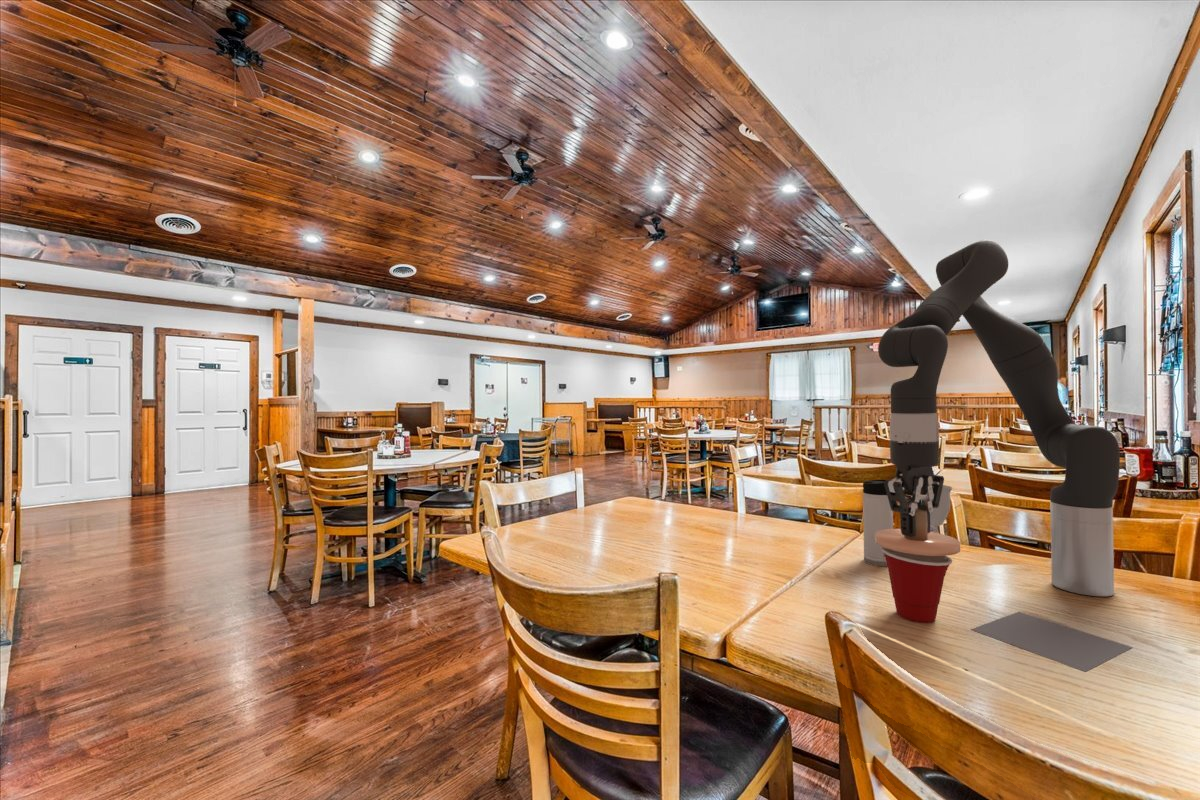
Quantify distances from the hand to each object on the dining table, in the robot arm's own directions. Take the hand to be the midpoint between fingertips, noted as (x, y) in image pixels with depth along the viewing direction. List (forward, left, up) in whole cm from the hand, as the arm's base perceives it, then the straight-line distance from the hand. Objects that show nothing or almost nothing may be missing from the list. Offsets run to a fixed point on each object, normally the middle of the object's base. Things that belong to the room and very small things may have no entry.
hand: (915, 533), depth 91 cm
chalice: (-34, -17, -15) cm, 41 cm away
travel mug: (-22, -23, -15) cm, 35 cm away
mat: (-10, +15, -15) cm, 24 cm away
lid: (0, 0, -2) cm, 2 cm away
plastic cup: (0, 0, -15) cm, 15 cm away
